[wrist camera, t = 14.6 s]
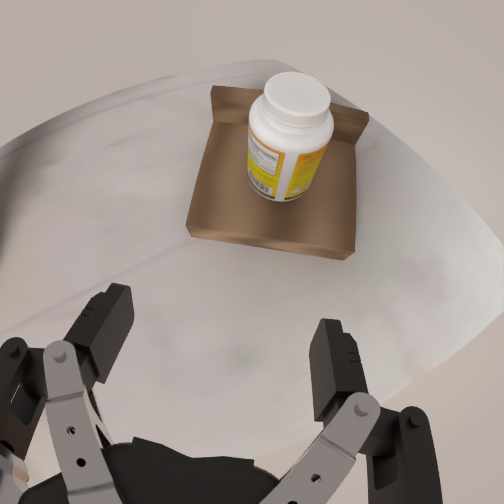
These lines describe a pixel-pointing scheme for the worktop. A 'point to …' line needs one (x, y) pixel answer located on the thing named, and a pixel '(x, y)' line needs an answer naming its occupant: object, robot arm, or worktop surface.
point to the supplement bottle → (288, 135)
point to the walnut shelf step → (268, 211)
